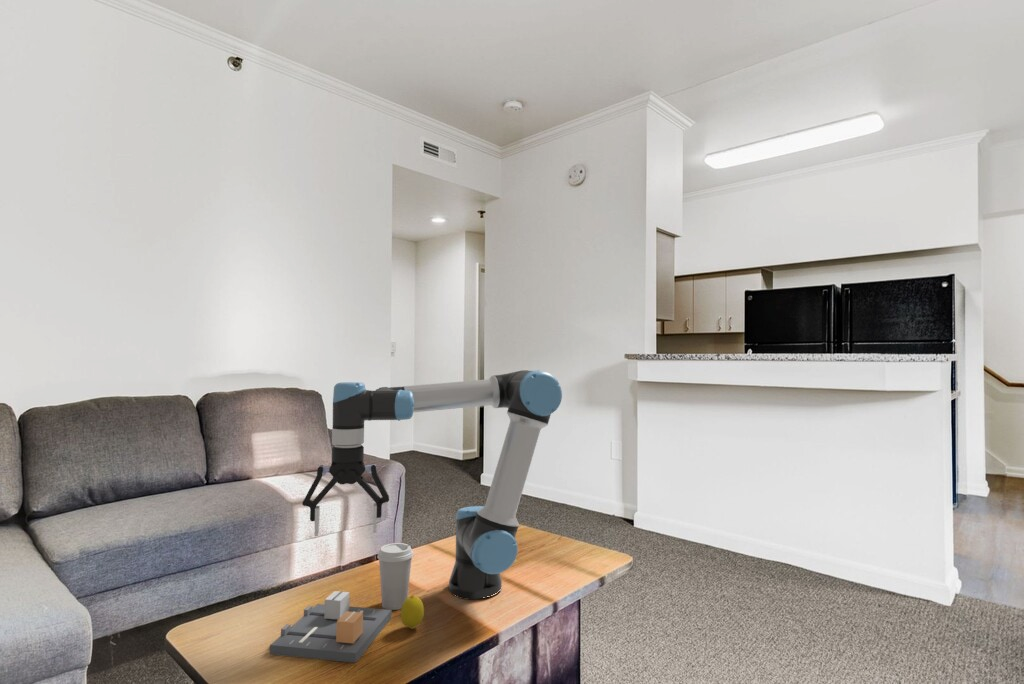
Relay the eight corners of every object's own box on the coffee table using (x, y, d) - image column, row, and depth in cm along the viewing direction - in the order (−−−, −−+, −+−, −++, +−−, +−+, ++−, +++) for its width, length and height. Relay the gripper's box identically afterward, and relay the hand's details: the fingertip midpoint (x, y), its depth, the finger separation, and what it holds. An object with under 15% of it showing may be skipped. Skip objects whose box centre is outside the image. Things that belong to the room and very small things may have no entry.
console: (391, 618, 138) (391, 604, 138) (355, 662, 118) (356, 646, 118) (317, 611, 141) (317, 598, 141) (269, 654, 121) (269, 638, 121)
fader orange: (362, 632, 126) (363, 611, 126) (353, 643, 121) (353, 621, 121) (346, 631, 127) (346, 610, 127) (336, 641, 122) (336, 620, 122)
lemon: (401, 623, 135) (402, 591, 136) (424, 623, 136) (425, 590, 136) (399, 634, 130) (399, 600, 130) (422, 634, 130) (423, 600, 131)
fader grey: (349, 610, 137) (349, 591, 137) (339, 619, 132) (340, 599, 132) (334, 609, 138) (334, 590, 138) (324, 618, 133) (324, 598, 133)
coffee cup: (412, 611, 142) (413, 553, 143) (374, 613, 141) (375, 554, 141) (412, 596, 152) (414, 541, 152) (377, 598, 150) (378, 542, 151)
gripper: (399, 442, 141) (397, 525, 140) (296, 444, 135) (294, 531, 134) (400, 446, 134) (398, 534, 133) (291, 448, 128) (289, 540, 127)
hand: (346, 532), depth 134 cm, fingers open, 13 cm apart
